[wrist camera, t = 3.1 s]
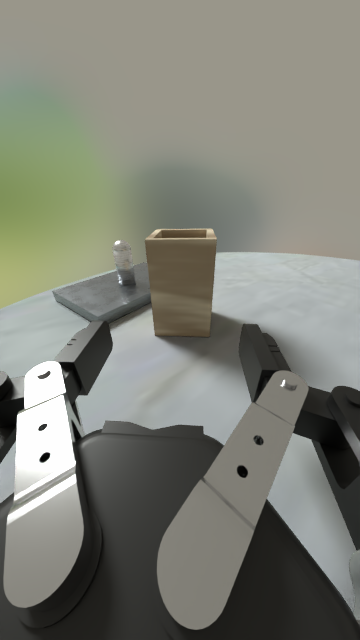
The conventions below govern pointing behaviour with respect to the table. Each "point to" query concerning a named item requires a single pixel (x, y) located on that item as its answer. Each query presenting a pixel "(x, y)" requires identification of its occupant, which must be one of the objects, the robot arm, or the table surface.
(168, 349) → the table surface
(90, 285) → the post plate
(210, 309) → the wooden sleeve
